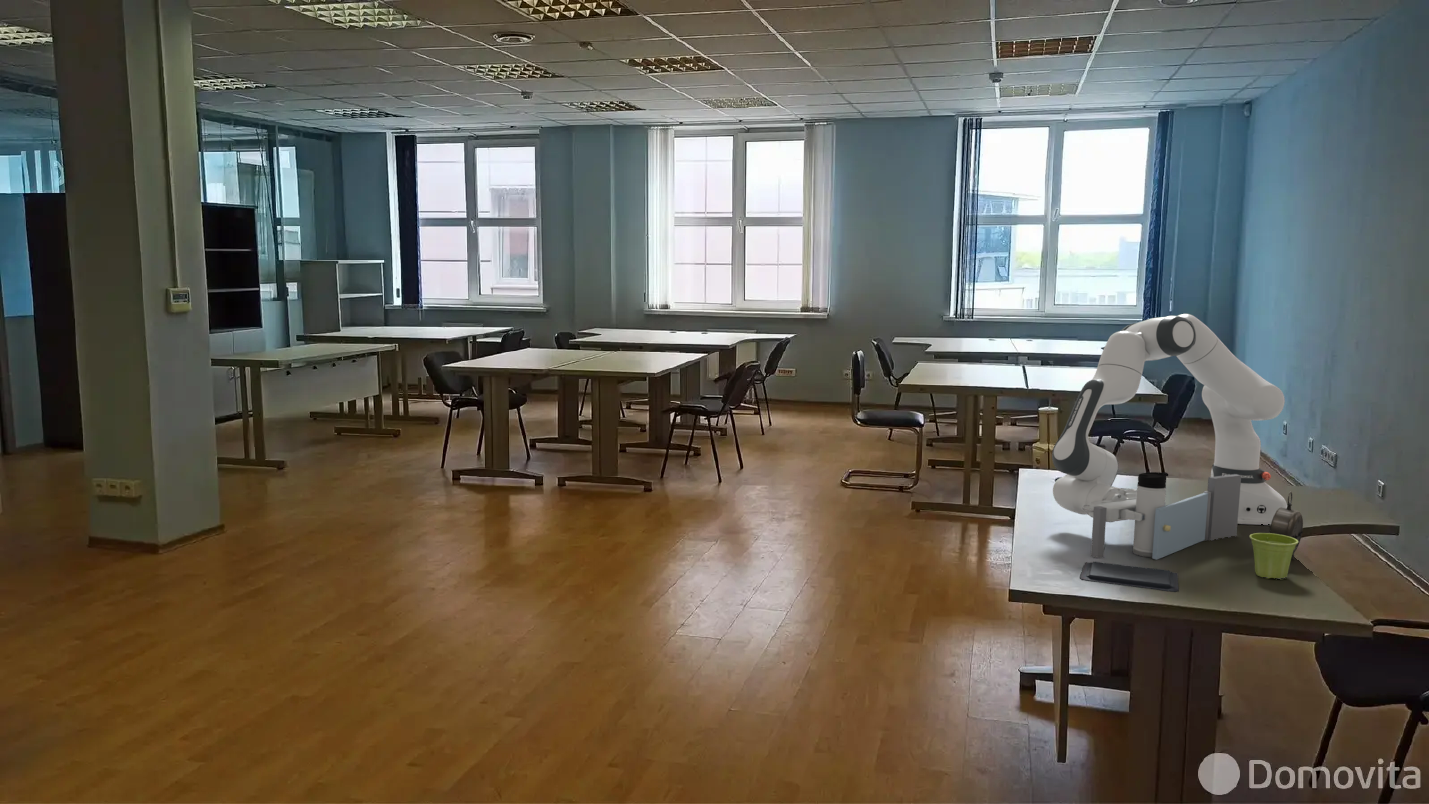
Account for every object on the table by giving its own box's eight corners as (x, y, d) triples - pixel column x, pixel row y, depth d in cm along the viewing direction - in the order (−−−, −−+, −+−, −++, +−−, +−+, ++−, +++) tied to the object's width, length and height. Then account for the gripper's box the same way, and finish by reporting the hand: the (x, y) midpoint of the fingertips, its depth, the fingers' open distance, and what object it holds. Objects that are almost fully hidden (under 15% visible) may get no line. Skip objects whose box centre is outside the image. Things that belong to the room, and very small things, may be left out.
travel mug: (1165, 558, 232) (1171, 475, 229) (1136, 556, 233) (1141, 474, 230) (1159, 551, 238) (1164, 470, 235) (1130, 549, 239) (1135, 469, 236)
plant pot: (1275, 584, 213) (1278, 545, 211) (1237, 572, 221) (1240, 535, 220) (1304, 579, 216) (1308, 541, 215) (1265, 567, 225) (1269, 531, 224)
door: (1201, 538, 249) (1205, 490, 248) (1212, 540, 248) (1215, 492, 246) (1150, 559, 230) (1154, 507, 229) (1161, 561, 229) (1165, 509, 227)
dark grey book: (1078, 574, 214) (1085, 556, 228) (1077, 582, 215) (1084, 564, 228) (1179, 587, 206) (1180, 568, 219) (1178, 596, 206) (1179, 576, 219)
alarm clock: (1279, 551, 238) (1284, 486, 236) (1304, 556, 235) (1310, 490, 233) (1264, 560, 231) (1270, 493, 229) (1290, 565, 227) (1296, 497, 225)
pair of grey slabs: (1230, 534, 254) (1234, 474, 252) (1237, 536, 252) (1242, 475, 250) (1090, 556, 233) (1094, 490, 231) (1097, 558, 231) (1101, 491, 229)
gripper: (1078, 495, 240) (1123, 507, 228) (1137, 488, 249) (1184, 499, 237) (1076, 520, 241) (1122, 533, 229) (1136, 512, 250) (1182, 524, 238)
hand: (1154, 515), depth 233 cm, fingers closed on travel mug, 6 cm apart
